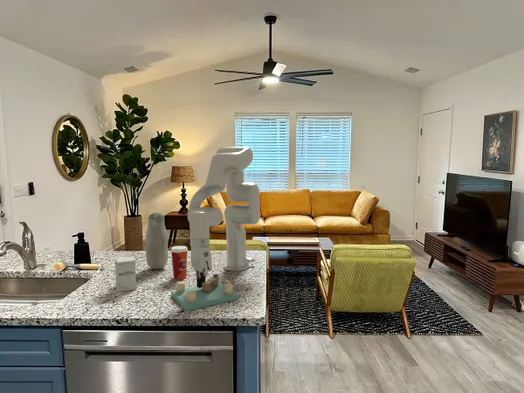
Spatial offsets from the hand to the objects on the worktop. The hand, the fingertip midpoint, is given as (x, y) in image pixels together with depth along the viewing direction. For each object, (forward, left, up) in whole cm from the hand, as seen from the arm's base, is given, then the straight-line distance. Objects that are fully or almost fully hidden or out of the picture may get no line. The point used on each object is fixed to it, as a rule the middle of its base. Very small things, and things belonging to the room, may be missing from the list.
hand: (201, 286), depth 146 cm
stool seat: (0, +4, -3) cm, 5 cm away
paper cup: (0, -25, -3) cm, 25 cm away
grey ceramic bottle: (+5, -44, -3) cm, 44 cm away
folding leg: (-4, +1, -1) cm, 4 cm away
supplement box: (+24, -23, -3) cm, 34 cm away
